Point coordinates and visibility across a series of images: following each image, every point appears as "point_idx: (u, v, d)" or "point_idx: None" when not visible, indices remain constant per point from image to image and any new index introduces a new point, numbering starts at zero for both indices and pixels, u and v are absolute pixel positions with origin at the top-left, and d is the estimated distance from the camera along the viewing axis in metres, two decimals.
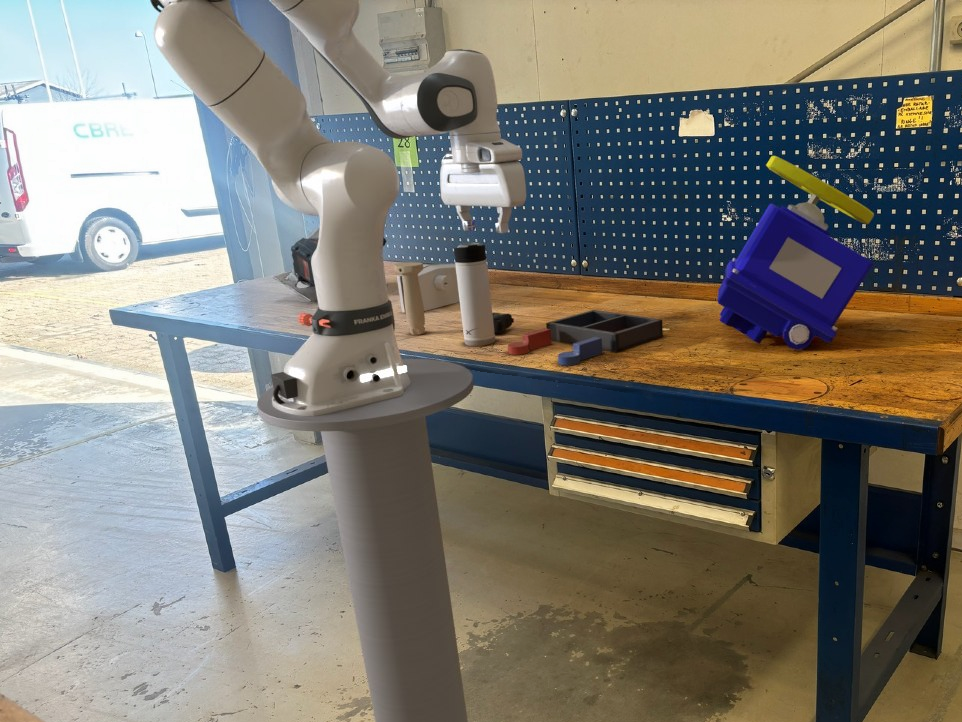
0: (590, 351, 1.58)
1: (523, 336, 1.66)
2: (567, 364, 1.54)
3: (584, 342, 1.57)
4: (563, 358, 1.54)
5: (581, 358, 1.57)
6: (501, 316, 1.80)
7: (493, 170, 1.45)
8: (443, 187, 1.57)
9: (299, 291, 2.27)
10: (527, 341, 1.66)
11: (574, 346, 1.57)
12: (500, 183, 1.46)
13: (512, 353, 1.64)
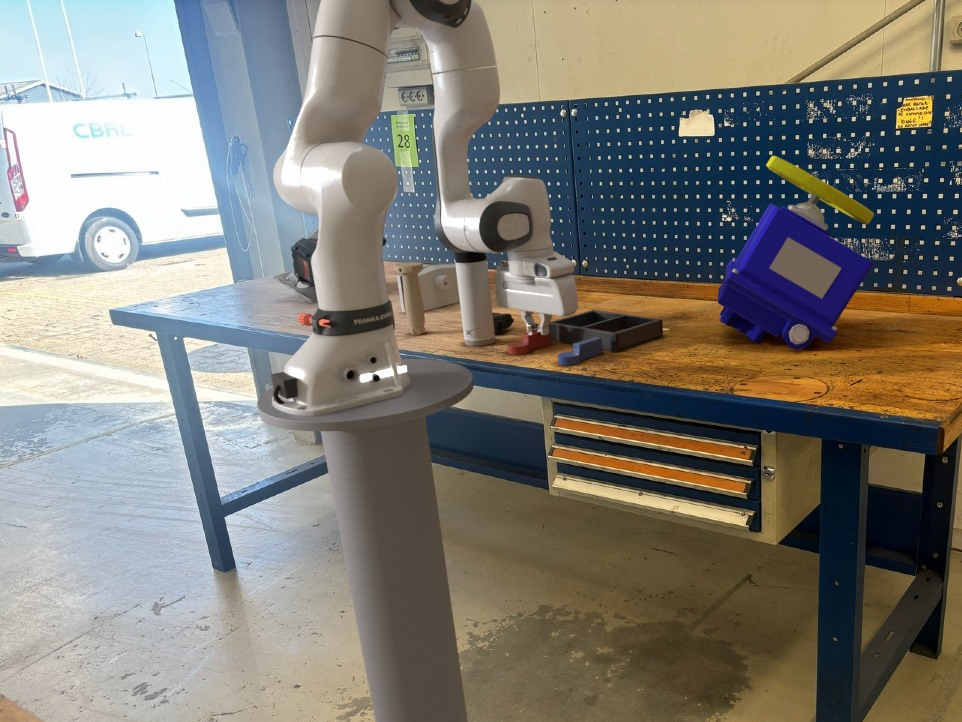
0: (590, 351, 1.58)
1: (523, 336, 1.66)
2: (567, 364, 1.54)
3: (584, 342, 1.57)
4: (563, 358, 1.54)
5: (581, 358, 1.57)
6: (501, 316, 1.80)
7: (548, 283, 1.58)
8: (498, 292, 1.69)
9: (299, 291, 2.27)
10: (527, 341, 1.66)
11: (574, 346, 1.57)
12: (554, 295, 1.58)
13: (512, 353, 1.64)
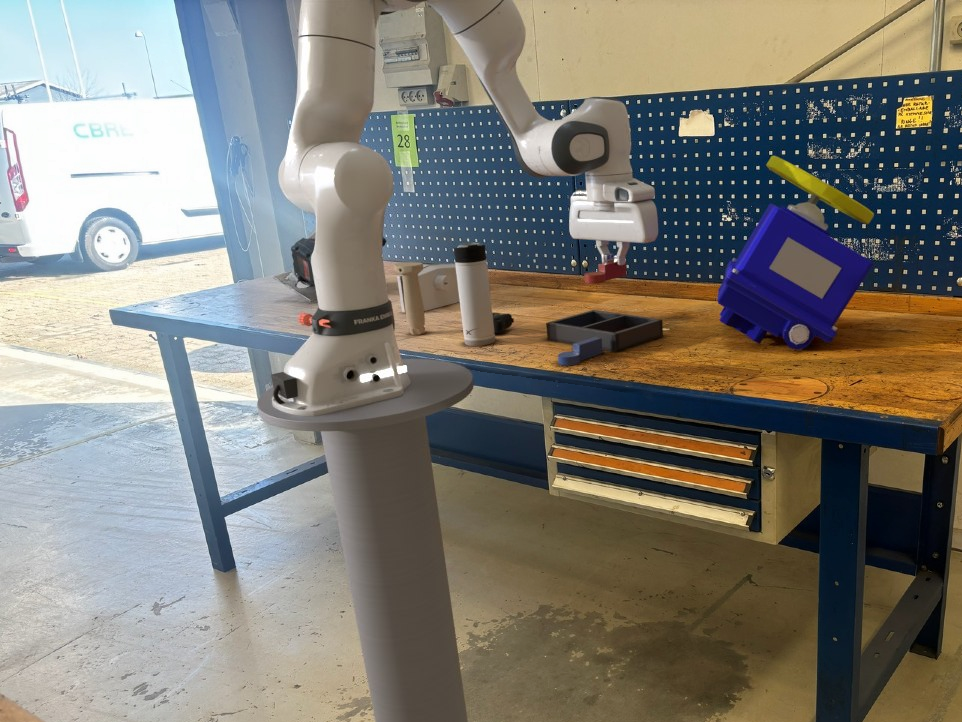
0: (590, 351, 1.58)
1: (599, 266, 1.63)
2: (567, 364, 1.54)
3: (584, 342, 1.57)
4: (563, 358, 1.54)
5: (581, 358, 1.57)
6: (501, 316, 1.80)
7: (629, 209, 1.55)
8: (572, 222, 1.66)
9: (299, 291, 2.27)
10: (603, 271, 1.62)
11: (574, 346, 1.57)
12: (635, 221, 1.55)
13: (589, 282, 1.60)
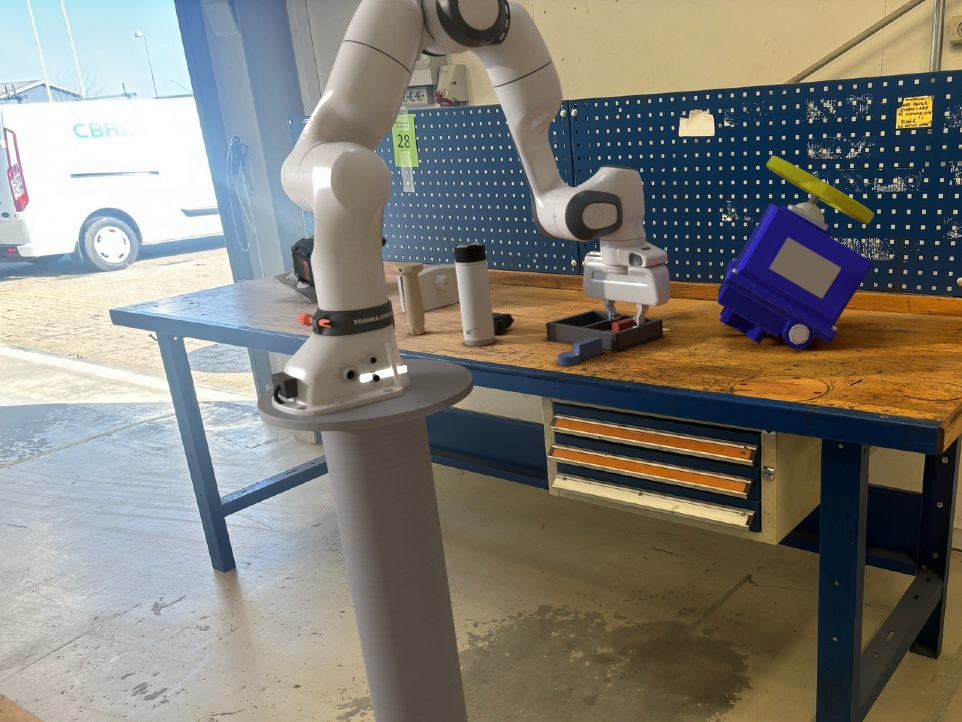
0: (590, 351, 1.58)
1: (613, 324, 1.67)
2: (567, 364, 1.54)
3: (584, 342, 1.57)
4: (563, 358, 1.54)
5: (581, 358, 1.57)
6: (501, 316, 1.80)
7: (642, 273, 1.59)
8: (586, 282, 1.71)
9: (299, 291, 2.27)
10: (617, 329, 1.67)
11: (574, 346, 1.57)
12: (648, 284, 1.60)
13: None
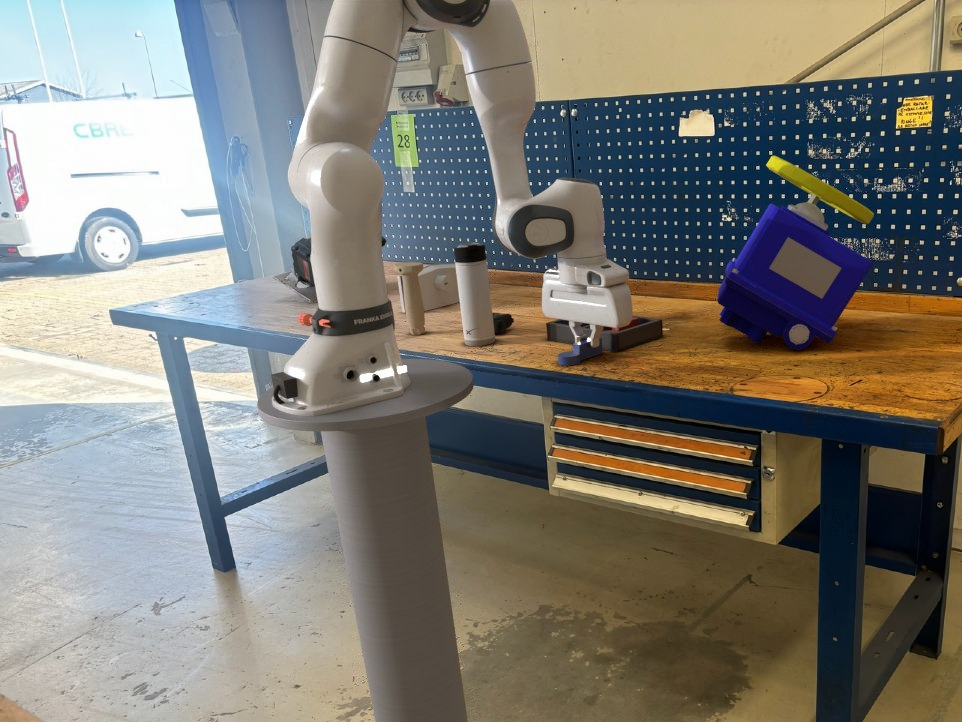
0: (590, 351, 1.58)
1: None
2: (567, 364, 1.54)
3: (584, 342, 1.57)
4: (563, 358, 1.54)
5: (581, 358, 1.57)
6: (501, 316, 1.80)
7: (601, 293, 1.49)
8: (545, 301, 1.60)
9: (299, 291, 2.27)
10: (617, 329, 1.67)
11: (574, 346, 1.57)
12: (608, 305, 1.49)
13: None
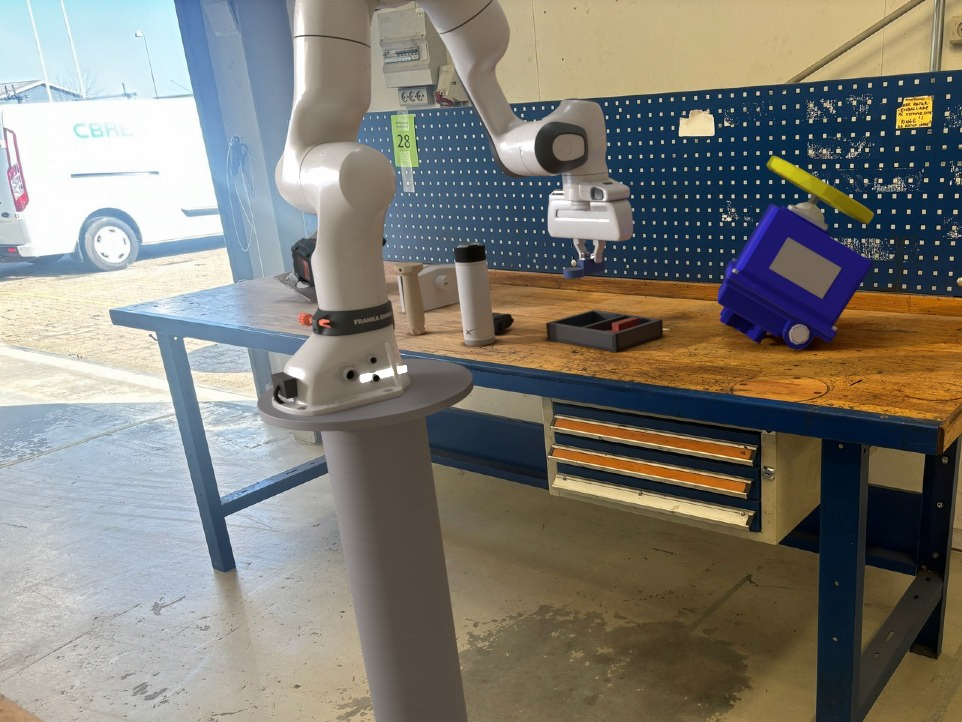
0: (593, 267, 1.68)
1: (613, 324, 1.67)
2: (572, 277, 1.64)
3: (588, 258, 1.67)
4: (568, 272, 1.64)
5: (585, 273, 1.67)
6: (501, 316, 1.80)
7: (604, 208, 1.59)
8: (551, 221, 1.70)
9: (299, 291, 2.27)
10: (617, 329, 1.67)
11: (578, 262, 1.67)
12: (610, 219, 1.59)
13: None
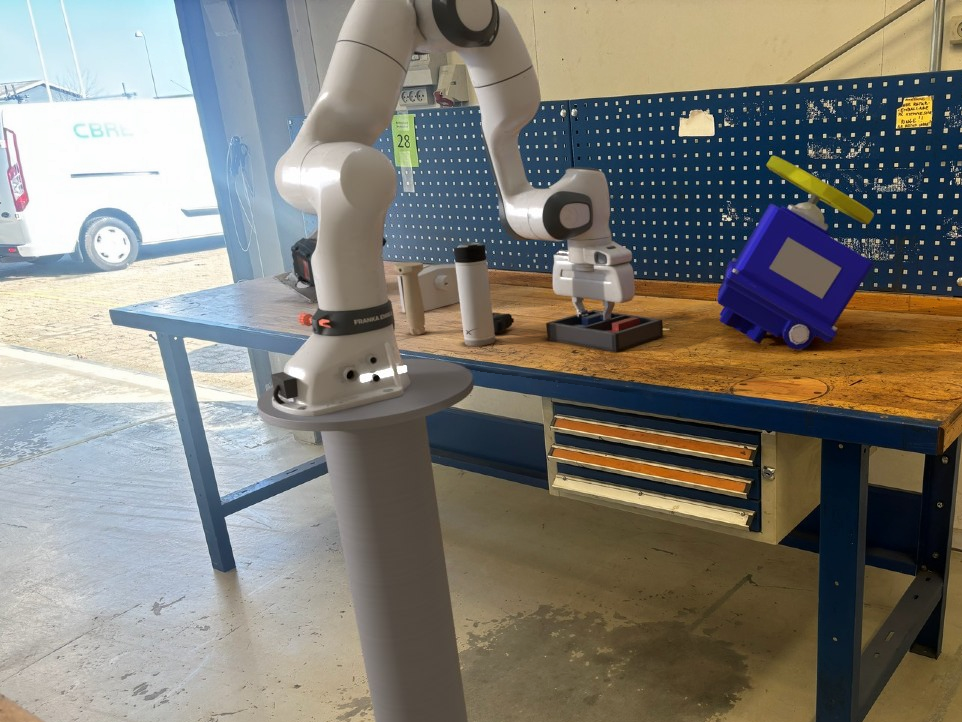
0: None
1: (613, 324, 1.67)
2: None
3: (592, 316, 1.74)
4: None
5: None
6: (501, 316, 1.80)
7: (607, 271, 1.65)
8: (555, 280, 1.77)
9: (299, 291, 2.27)
10: (617, 329, 1.67)
11: (583, 320, 1.73)
12: (613, 282, 1.66)
13: None
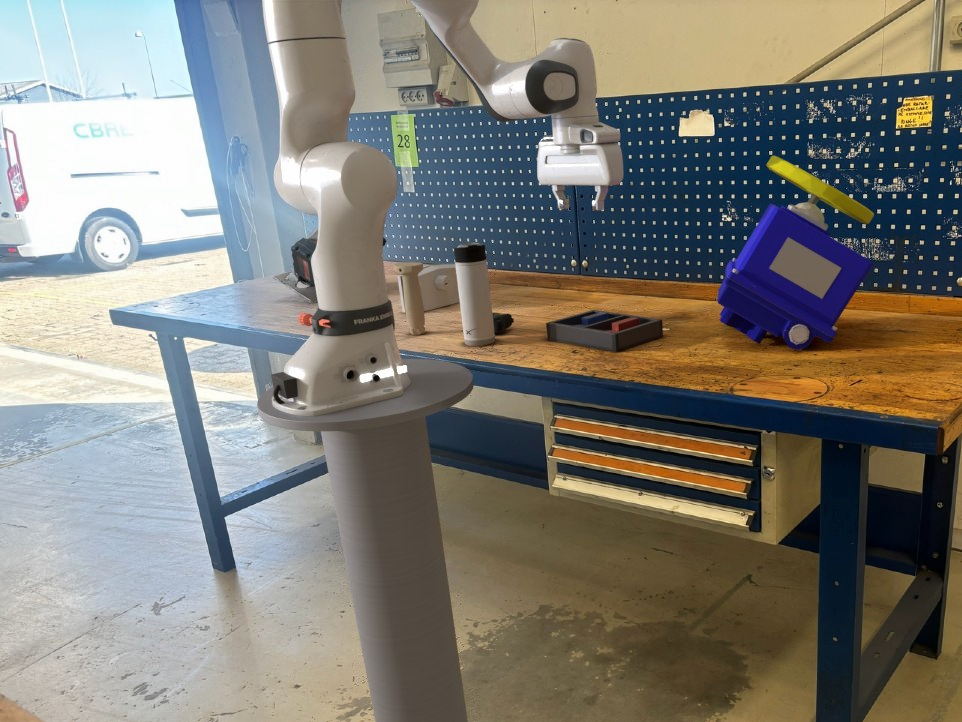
0: None
1: (613, 324, 1.67)
2: None
3: (592, 316, 1.74)
4: None
5: None
6: (501, 316, 1.80)
7: (594, 151, 1.56)
8: (540, 168, 1.67)
9: (299, 291, 2.27)
10: (617, 329, 1.67)
11: (583, 320, 1.73)
12: (600, 163, 1.56)
13: None
